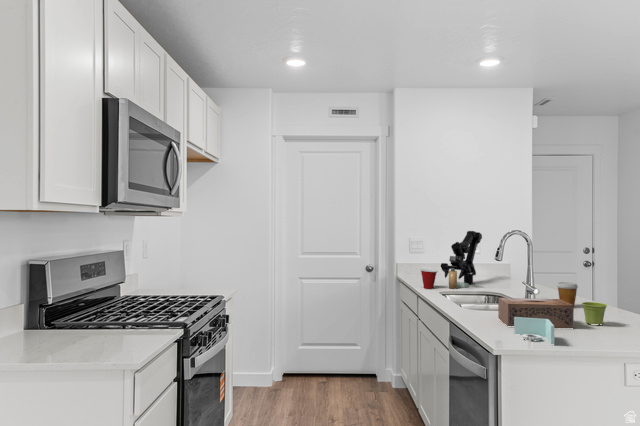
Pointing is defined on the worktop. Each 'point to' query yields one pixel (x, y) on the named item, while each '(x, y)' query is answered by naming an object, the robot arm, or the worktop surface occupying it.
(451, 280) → the bottle
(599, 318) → the plant pot
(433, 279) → the plastic cup
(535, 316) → the tissue box cover
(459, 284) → the dish
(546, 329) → the right angle wall
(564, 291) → the disposable coffee cup
